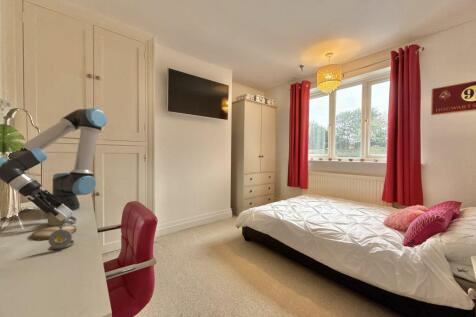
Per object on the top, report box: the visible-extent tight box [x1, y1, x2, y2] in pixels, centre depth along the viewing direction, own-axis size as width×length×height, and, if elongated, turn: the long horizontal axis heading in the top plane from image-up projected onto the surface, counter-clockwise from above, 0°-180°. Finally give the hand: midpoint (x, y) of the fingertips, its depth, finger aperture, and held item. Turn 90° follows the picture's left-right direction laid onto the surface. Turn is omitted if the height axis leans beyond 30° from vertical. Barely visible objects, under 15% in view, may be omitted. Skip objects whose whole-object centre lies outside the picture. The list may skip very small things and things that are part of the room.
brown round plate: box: [30, 224, 78, 241], centre depth 89 cm, size 15×15×1 cm
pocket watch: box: [48, 223, 75, 250], centre depth 76 cm, size 8×8×10 cm
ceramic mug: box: [47, 207, 78, 227], centre depth 101 cm, size 11×8×8 cm
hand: (67, 216), depth 101 cm, fingers closed on ceramic mug, 8 cm apart
